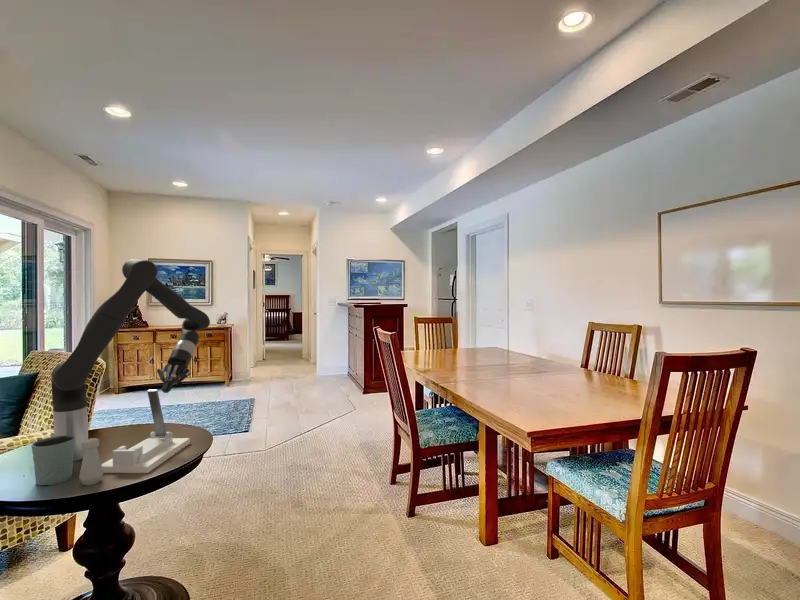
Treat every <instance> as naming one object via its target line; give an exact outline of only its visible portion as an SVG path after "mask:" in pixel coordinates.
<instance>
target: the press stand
mask: <svg viewBox="0 0 800 600" xmlns="http://www.w3.org/2000/svg"><path fill="white" fill-rule="evenodd" d="M173 435H174V434H173V431H166V434H165V436H164V438H163V437H159V436H156V431H151V432H150V434H149V437H148V438H146V439H144V440H142V441H141V442H138V443H137V444H135V445H134V446H132V447H130V448H128V449H127V445H121V446H120V447H117V448H116V449H114V450H112V458H110V459H108V460H107V461H105V462H103V463H101V465H102V470H103V474H105V473H106V474H108V473H109V474H111V473H112V474H115V473H116V474H119V473H121V474H123V473H124V474H148V473H149V472H151V471H153V470H154V469H156V468H157V467H158V466H160V465H161V464H162V463H164V462H165V461H167V460H168V459H169V458H171V457H173V456H174V455H176V454H177V453H178V452H180V451H181V450H183V449H184V448H186V447H187V446H188V445H190V443H191V439H190V438H189V437H184V438H183V437H181V438H180V437H179V438H178V437H173ZM185 446H186V447H185ZM182 448H183V449H182ZM175 453H176V454H175Z"/></svg>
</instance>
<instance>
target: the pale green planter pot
mask: <svg viewBox="0 0 800 600" xmlns="http://www.w3.org/2000/svg"><path fill="white" fill-rule="evenodd" d="M74 443H75V437H74V436H71V435H63V436H55V437H51V436H50V437H45V438H43V439H39V440H37V441H34V442H33V443H32V444H31V446H30V447H31V451H32V459H33V460H32V461H33V464H34V465H33V466H34V477H35V484H36V486H38V485H49V486H53V485H58V484H61V483H64V482H67V481H68V480H70V479H71V478H72V477H73V468H74V467H73V465H74V464H73V463H74V461H73V453H74V451H73V450H74Z"/></svg>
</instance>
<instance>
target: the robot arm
mask: <svg viewBox="0 0 800 600" xmlns="http://www.w3.org/2000/svg"><path fill="white" fill-rule="evenodd" d="M121 272H122V274H123V276H124V278H125V280H124V282H123V284H122V285H121V286H120V288H119V289H117V291H116V292H115V293H114V294H113V295H111V296H110V297H108V298H107V299H106V300H105V301H104V302H103V303H102V304H101V305H100V306H99V307H98V308H96V311H95V312H94V313H93V315H92V316H91V318H90V319H89V321H88V323H87V324H86V326H85V327H84V330H83V332H82V334H81V337H80V339H79V342H78V343H77V345H76V347H75V349H74V350H73V352H72V353H71V354H70V355H69V356H68V358H67V359H66V360H65V361H62V362H60V363H58V364H57V365H56V366H55V367H54V368H53V369H52V372H51V378H50V379H51V400H52V414H53V416H52V417H53V419H52V420H53V432H51V433H50V437H55V436H63V435H71V436H74V437H75V443H74V450H73V451H74V453H73V462H77V461H79V460H83V455H84V449H82V442H83V441H84V440H87V439H89V423H88V422H89V418H88V398H87V391H86V381H87V380H88V379H89V376H90V374H91V372H92V370H93V368H94V366H95V365H96V362H97V361H98V359H99V357H100V356H101V354H102V353H103V351H104V350H106V349H107V347H108V345H110V343H111V342H112V340H113V338H115V337H116V334H117V333H118V331H120V329H121V328H122V326H123V324H124V323H125V321H126V320H127V318H128V316H129V314H130V313H131V312H132V311H133V309H134V307H135V305H136V304H137V302H138V301H139V299H140V298H141V297H142V295H143V294H144V293H145V292H147V293H148V294H149V295H151V296H152V297H154V298H155V299H156V300H157V301H158V302H159V303H160V304H161V305H163V307H164V308H166V309H167V310H168V311H169V312H171V314H173V316H175V317H176V318H178V319H181V320H182V319H183V322H182V325H181V334H180V335H179V336H180V337H179V338H178V340H177V343H176V344H175V345H174V347H173V348H172V351H171V353H170V355H169V358H168V359H167V364H165V366H164V367H163V368H158V369H157V370H156V372H157V374H158V377H159V379H160V381H161V382H162V383H163V384H162V387H161V391H162V392H163V394H168V393H169V392H171V391H172V388H173V386H174V385H175V384H180V383H181V382H183V381H184V380H185V379H186V378H188V377H189V376H190V375H191V374H192V372H191V370H190V369H189V364H190V363H191V361H192V358H193V356H194V354H195V350H196V347H197V344H198V342H199V341H200V335H199V333H198V331H202V330H206V329H207V328H209V327H210V324H211V320H210V318H209V315H207V314H206V313H205V312H204V311H202V310H200V309H199V308H197V307H195V306H192V305H191V304H190V303H189V302H188V301H187V300H185V299H184V297H182V296H181V295H180V294H179V293H177V292H176V291H174V289H171V288H170V287H168V286H167V285H165V284H164V283H163V282H162V281H160V280H159V279H158V278H157V275H158V268H157V265H156V264H155V263H154V262H153V261H151V260H147V259H142V258H132V259H128V260H127V261H125V262H124V263H123V265H122V268H121Z"/></svg>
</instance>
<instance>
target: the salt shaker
mask: <svg viewBox="0 0 800 600" xmlns="http://www.w3.org/2000/svg"><path fill="white" fill-rule="evenodd" d="M99 446H100V439H99V438H98V437H97V438H96V437H95V438H94V437H91V438H88V439H87V440H84V441H83V442H82V449H84V455H83V458H82V459H81V460H82V462H81V465H80V471H79V475H78V478H79V481H80V483H82V486H92V485H95V484H97V483H99V482H101V480H102V477H103V476H104V475H103V474H104V473H103V470H102V465H101V464H102V461H101V458H100V453H99V449H98V447H99Z"/></svg>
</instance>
